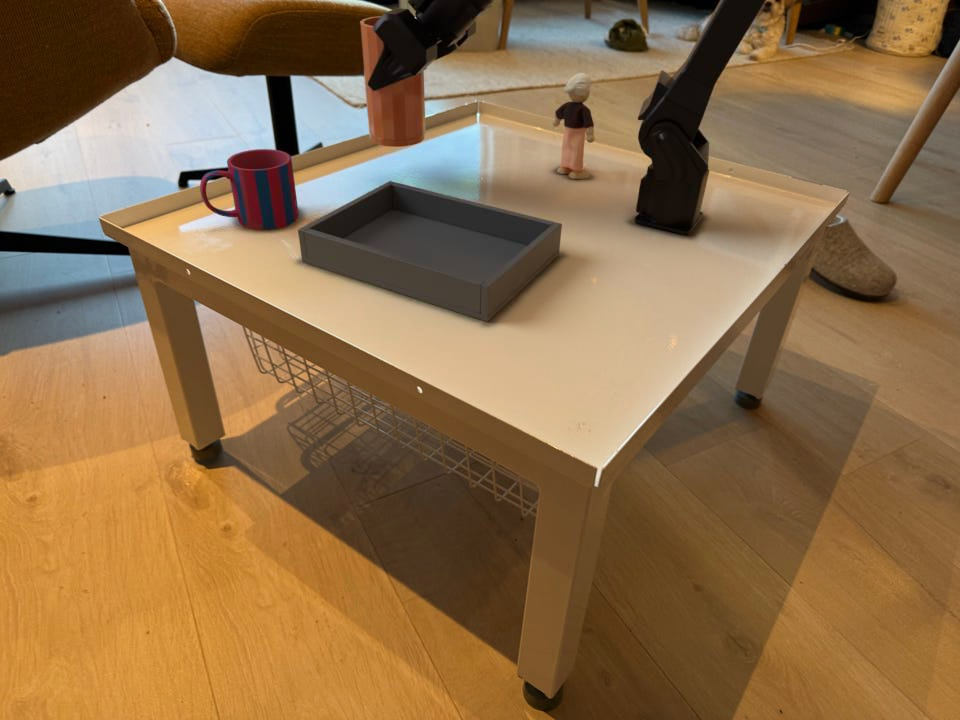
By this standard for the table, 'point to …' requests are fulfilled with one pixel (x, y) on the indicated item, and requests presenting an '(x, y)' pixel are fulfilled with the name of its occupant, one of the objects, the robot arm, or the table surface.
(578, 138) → the grandmother figurine
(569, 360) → the table surface
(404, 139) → the tumbler
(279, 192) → the mug
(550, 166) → the table surface
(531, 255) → the dark grey shallow tray
